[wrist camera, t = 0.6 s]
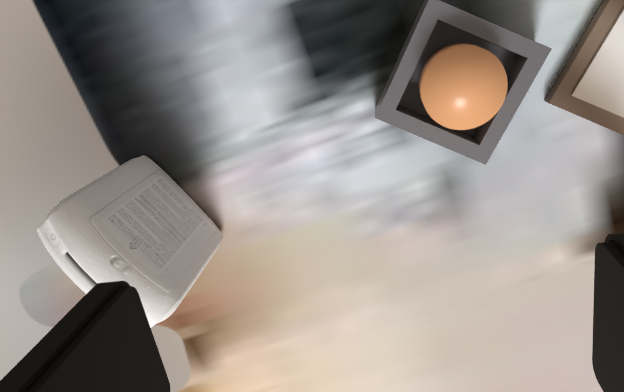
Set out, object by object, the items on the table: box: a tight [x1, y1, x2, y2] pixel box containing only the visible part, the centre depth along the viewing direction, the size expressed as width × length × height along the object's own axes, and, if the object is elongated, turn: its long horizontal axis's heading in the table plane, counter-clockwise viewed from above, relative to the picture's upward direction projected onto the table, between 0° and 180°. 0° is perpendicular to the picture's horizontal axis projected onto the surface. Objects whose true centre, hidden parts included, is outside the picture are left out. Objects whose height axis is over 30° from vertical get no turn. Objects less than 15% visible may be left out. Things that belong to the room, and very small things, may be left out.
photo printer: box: [37, 155, 223, 328], centre depth 35 cm, size 10×4×12 cm, turn 42°
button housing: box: [375, 0, 551, 164], centre depth 33 cm, size 8×8×4 cm
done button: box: [418, 43, 508, 130], centre depth 31 cm, size 5×5×2 cm
